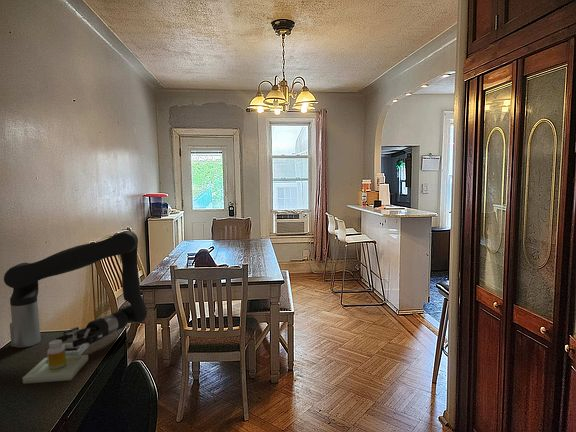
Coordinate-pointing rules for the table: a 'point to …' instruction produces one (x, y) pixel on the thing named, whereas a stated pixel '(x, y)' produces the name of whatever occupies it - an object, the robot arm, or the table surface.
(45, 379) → the sage tray
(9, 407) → the table surface
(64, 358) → the supplement bottle
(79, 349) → the gray square frame
